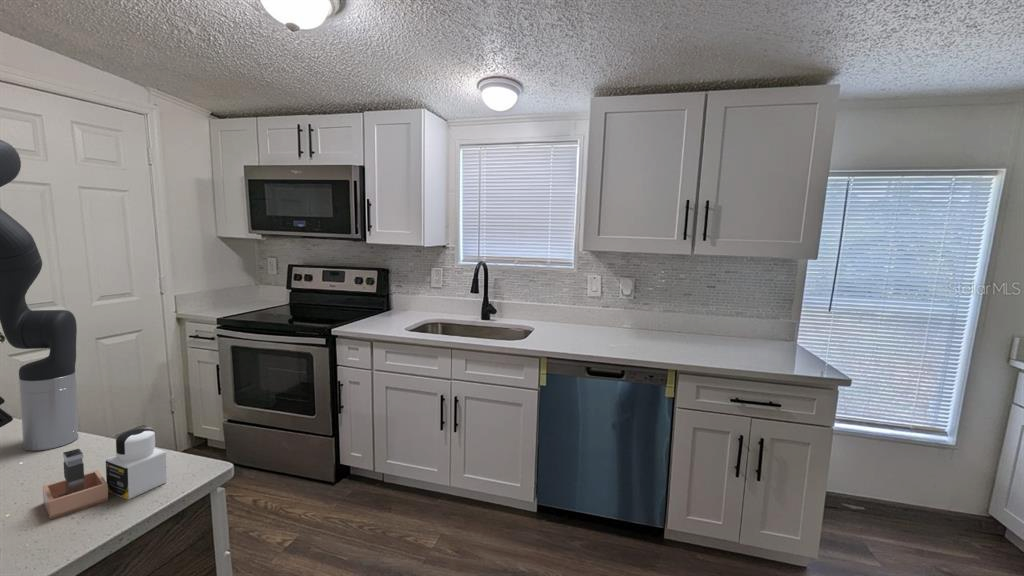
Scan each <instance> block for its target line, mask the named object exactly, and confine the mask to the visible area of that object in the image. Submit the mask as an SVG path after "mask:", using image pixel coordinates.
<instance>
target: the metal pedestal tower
mask: <svg viewBox="0 0 1024 576" xmlns="http://www.w3.org/2000/svg"><path fill="white" fill-rule="evenodd" d="M62 458H63V459H64V461H63V474H64V475H63V476H64V480H65V483H66V493H63V494H60V495H58V498H59V497H62V496H66V495H69V494H72V493H75V492H79V491H82V490H85V489H88V487H87V486H86V487H84V482H83V478H84V474H85V468H84V467H85V466H84V464H85V463H84V462H83V458H84V454H83V452H82V450H81V449H80V448H75V449H72V450H68V451H64V452H62Z"/></svg>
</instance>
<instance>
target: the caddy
mask: <svg viewBox="0 0 1024 576" xmlns="http://www.w3.org/2000/svg"><path fill="white" fill-rule="evenodd" d="M83 482H84V487H86V486H87V487H88V489H85V490H82V491H79V492H75V493H72V494H69V495H66V496H62V497H59V498H58V495H60V494H63V493H66V483H65V479H62V480H59V481H58V480H57V481H55V482H52V483H48V484H46V485H42V499H43V506H44V508H45V510H46V513H47V515H48V517H49V520H51V521H52V520H55V519H57V518H60V517H63V516H66V515H68V514H72V513H75V512H78V511H81V510H84V509H87V508H90V507H92V506H95V505H98V504H101V503H102V504H103V503H105V502H108V501H109V492H108V484H107V480H106V479H105V478H104V477H103V475H102V473H101V472H100V470H98V469H97V470H93V471H90V472H86V473H84V478H83Z"/></svg>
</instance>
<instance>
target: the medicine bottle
mask: <svg viewBox="0 0 1024 576" xmlns="http://www.w3.org/2000/svg"><path fill="white" fill-rule="evenodd" d="M115 447H116V449H115V450H116V451H115V454H116V455H113V456H110V457H107V458H106V459H105V474H106V476H105V477H106V479H105V481H106V482H107V484H108V493H111V494H113V495H116V496H117V497H121V498H123V499H125V500H127V501H129V500H131V499H133V498H135V497H137V496H140V495H142V494H144V493H146V492H149V491H151V490H154V489H155V488H157V487H159V486H162V485H164V484H165V483H167V480H168V477H167V474H168V473H167V451H164V450H162V449H159V448H156V433H155V431H154V430H153V429H150V428H137V429H131V430H127V431H125V432H123V433H121V434H120V435H119V436H117V437H116V438H115Z"/></svg>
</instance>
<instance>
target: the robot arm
mask: <svg viewBox="0 0 1024 576" xmlns="http://www.w3.org/2000/svg"><path fill="white" fill-rule="evenodd" d="M21 168H22V161H21V157H20V154H19V152H18V151H17V149H16V148H15V147H13V146H12V145H11V144H10V143H8V142H7V141H4V140H2V139H0V188H2V187H4V186H5V185H7V184H10V183H11V182H12V181H14V180H15V179H16V178H17V176H18V175H19V174H20V172H21ZM35 241H36V240H35V238H34V237H33V236H32V234H31V233H30V232H29V230H27V229H26V228H25V227H24V226H23V225H22V224H20V223H19V222H18V221H17V220H16V219H15V218H13V217H12V216H11V215H10V214H8V212H6V211H4V210H3V209H2V208H1V207H0V325H1V329H2V332H3V334H4V337H5V340H6V341H7V342H8V344H10V345H11V346H12V347H13V348H15V349H21V350H30V349H31V350H34V349H35V350H37V349H49V354H48V356H45V357H44V358H42V359H38V360H35V361H30V362H28V363H26V364H25V363H24V364H23V365H21V367H20V368H19V369H18V379H19V392H20V393H19V395H20V410H21V425H22V426H21V428H22V444H23V449H24V450H25V451H29V452H30V451H34V452H35V451H44V450H51V449H54V448H55V449H56V448H59V447H62V446H65V445H68V444H70V443H73V442H75V441H76V440H77V439H79V417H78V398H77V397H78V395H77V394H78V393H77V382H76V381H77V379H76V362H77V334H78V333H77V331H78V330H77V327H78V326H77V320H76V319H77V318H76V317H75V315H74V314H73V312H72V311H70V310H66V309H50V310H49V309H39V310H36V309H34V310H32V309H30V307H29V306H28V305H27V302H26V301H27V300H26V294H28V293H27V292H28V291H29V289H30V287H31V286H32V285H33V284H34V282H35V280H36V279H37V278H38V276H39V274H40V272H41V270H42V267H43V259H42V256H41V254H40V252H39V249H38V247H37V244H36V242H35ZM5 402H6V401H5V398H3V397H2V396H0V406H2V405H3V404H4V403H5ZM13 420H14V418H13V416H12V415H11V414H9V413H8V412H6V411H5V410H4V409H3V408H1V407H0V428H2V427H4V426H6V425H7V424H10V423H11V422H12V421H13ZM73 431H74V432H73ZM77 432H78V433H77Z"/></svg>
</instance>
